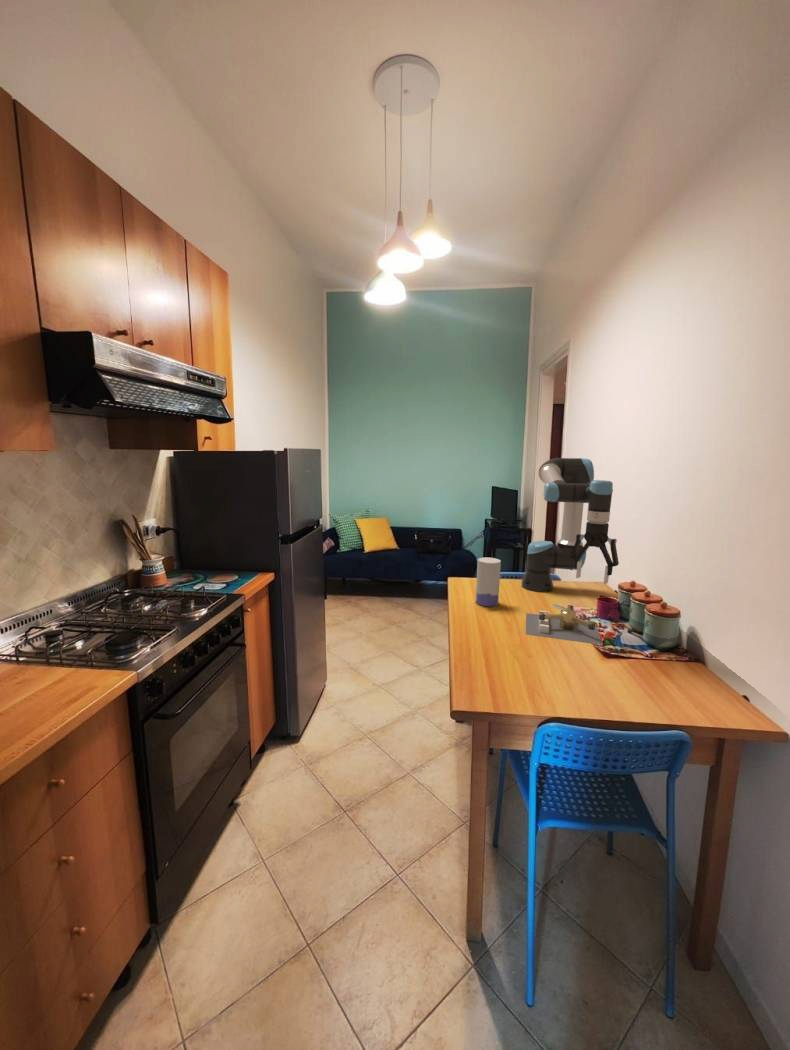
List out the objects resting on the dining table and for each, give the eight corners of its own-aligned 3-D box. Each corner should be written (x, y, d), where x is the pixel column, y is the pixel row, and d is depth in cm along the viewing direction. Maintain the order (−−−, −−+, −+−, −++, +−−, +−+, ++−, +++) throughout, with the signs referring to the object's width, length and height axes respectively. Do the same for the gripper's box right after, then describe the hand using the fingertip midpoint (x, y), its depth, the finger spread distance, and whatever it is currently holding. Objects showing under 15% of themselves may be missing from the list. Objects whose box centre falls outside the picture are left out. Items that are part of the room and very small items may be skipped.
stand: (525, 615, 177) (526, 606, 177) (593, 624, 170) (594, 614, 169) (525, 637, 157) (526, 627, 156) (602, 648, 149) (604, 637, 148)
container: (496, 599, 196) (499, 557, 193) (499, 607, 186) (502, 563, 183) (474, 598, 197) (476, 556, 194) (476, 606, 187) (478, 562, 184)
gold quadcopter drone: (567, 616, 174) (569, 599, 173) (609, 631, 159) (610, 614, 158) (535, 625, 164) (537, 608, 162) (577, 643, 149) (578, 624, 148)
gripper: (564, 519, 163) (559, 576, 167) (627, 527, 148) (620, 589, 152) (571, 517, 168) (566, 572, 172) (633, 524, 154) (626, 584, 158)
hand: (591, 580), depth 162 cm, fingers open, 9 cm apart
